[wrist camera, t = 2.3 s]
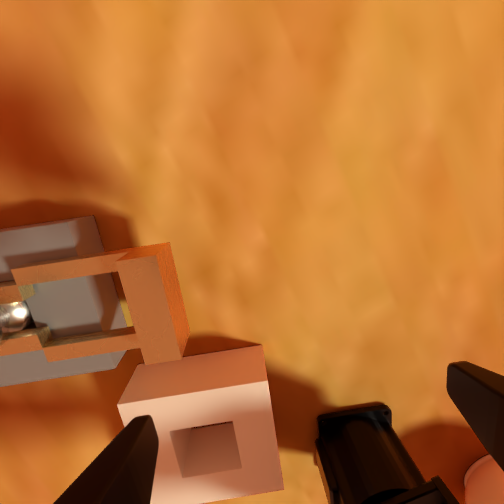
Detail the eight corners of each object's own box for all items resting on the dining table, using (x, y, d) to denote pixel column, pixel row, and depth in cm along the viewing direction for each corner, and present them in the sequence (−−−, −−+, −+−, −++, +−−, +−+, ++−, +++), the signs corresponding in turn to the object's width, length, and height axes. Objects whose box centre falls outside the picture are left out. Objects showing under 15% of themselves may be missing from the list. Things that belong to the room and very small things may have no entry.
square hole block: (262, 344, 22) (267, 380, 18) (276, 440, 24) (284, 489, 21) (137, 364, 22) (116, 404, 18) (166, 458, 24) (153, 511, 20)
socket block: (93, 215, 18) (67, 222, 15) (131, 342, 21) (115, 368, 18) (-86, 241, 18) (-146, 253, 15) (-24, 366, 21) (-66, 397, 18)
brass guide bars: (169, 242, 16) (155, 255, 13) (190, 331, 18) (181, 359, 15) (-63, 277, 16) (-125, 297, 13) (-20, 364, 17) (-68, 398, 15)
